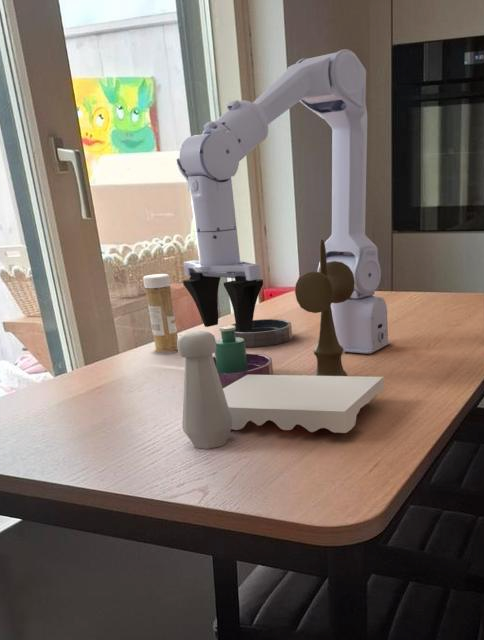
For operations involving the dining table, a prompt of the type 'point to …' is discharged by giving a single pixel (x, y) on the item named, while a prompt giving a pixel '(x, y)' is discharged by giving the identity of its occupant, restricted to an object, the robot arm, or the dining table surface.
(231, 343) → the bottle
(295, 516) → the dining table surface
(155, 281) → the sprinkles bottle
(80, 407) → the dining table surface
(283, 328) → the bowl charcoal
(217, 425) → the salt shaker
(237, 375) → the bowl plum
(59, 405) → the dining table surface
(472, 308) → the dining table surface
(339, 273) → the kendama
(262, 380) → the scalloped display plinth
